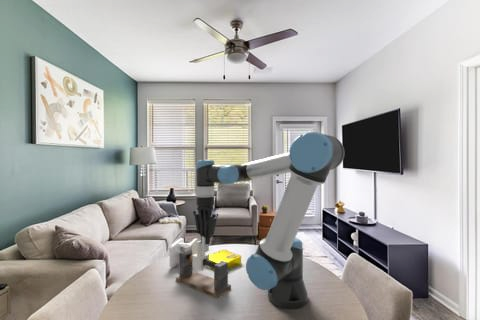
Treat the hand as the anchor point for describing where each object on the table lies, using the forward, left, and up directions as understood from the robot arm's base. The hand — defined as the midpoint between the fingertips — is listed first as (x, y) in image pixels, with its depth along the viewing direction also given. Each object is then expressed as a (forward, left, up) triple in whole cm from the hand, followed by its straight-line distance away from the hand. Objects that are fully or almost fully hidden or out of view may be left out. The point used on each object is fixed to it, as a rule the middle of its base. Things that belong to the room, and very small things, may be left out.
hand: (205, 251), depth 103 cm
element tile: (+9, -22, -15) cm, 28 cm away
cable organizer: (+25, -10, -15) cm, 31 cm away
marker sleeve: (+3, 0, -7) cm, 8 cm away
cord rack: (+2, 0, -15) cm, 15 cm away
